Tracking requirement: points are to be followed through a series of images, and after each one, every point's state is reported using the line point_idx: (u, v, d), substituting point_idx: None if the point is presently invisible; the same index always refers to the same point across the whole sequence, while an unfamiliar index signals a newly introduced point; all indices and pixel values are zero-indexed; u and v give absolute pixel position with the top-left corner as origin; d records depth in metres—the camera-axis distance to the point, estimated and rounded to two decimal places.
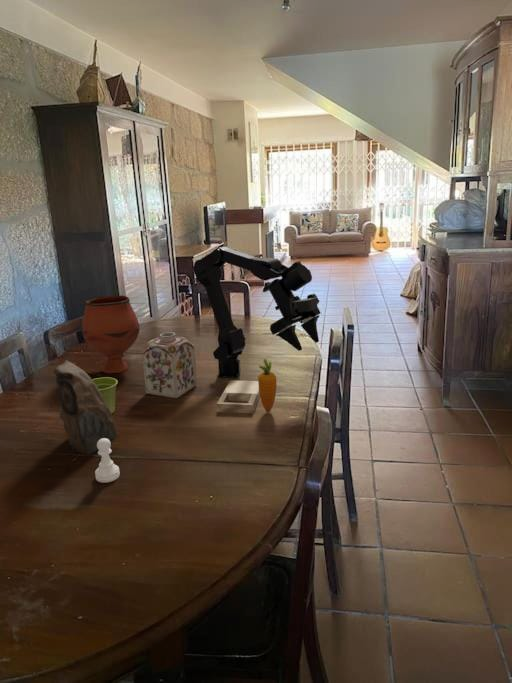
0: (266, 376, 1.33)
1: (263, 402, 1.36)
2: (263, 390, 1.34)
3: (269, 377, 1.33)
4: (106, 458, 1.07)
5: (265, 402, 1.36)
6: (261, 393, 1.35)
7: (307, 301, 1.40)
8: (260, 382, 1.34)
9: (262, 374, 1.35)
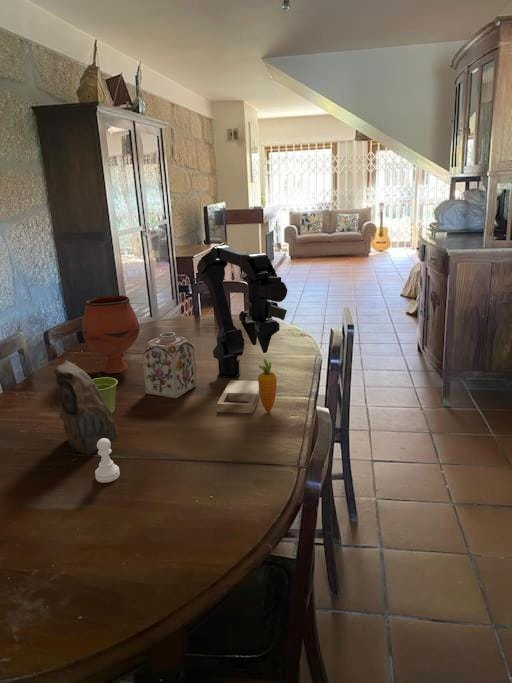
0: (266, 376, 1.33)
1: (263, 402, 1.36)
2: (263, 390, 1.34)
3: (269, 377, 1.33)
4: (106, 458, 1.07)
5: (265, 402, 1.36)
6: (261, 393, 1.35)
7: (286, 311, 1.49)
8: (260, 382, 1.34)
9: (262, 374, 1.35)
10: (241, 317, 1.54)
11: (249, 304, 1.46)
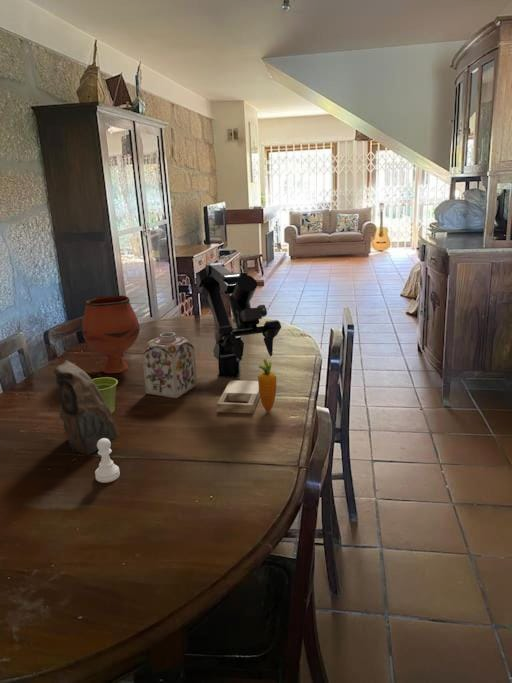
0: (266, 376, 1.33)
1: (263, 402, 1.36)
2: (263, 390, 1.34)
3: (269, 377, 1.33)
4: (106, 458, 1.07)
5: (265, 402, 1.36)
6: (261, 393, 1.35)
7: (245, 310, 1.39)
8: (260, 382, 1.34)
9: (262, 374, 1.35)
10: None
11: None
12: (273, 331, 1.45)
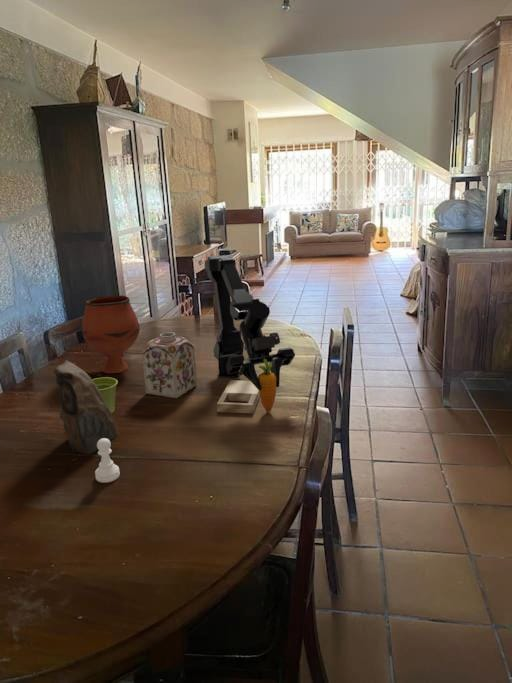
0: (266, 376, 1.33)
1: (263, 402, 1.36)
2: (263, 390, 1.34)
3: (269, 377, 1.33)
4: (106, 458, 1.07)
5: (265, 402, 1.36)
6: (261, 393, 1.35)
7: (257, 339, 1.32)
8: (260, 382, 1.34)
9: (262, 374, 1.35)
10: None
11: None
12: (280, 361, 1.37)
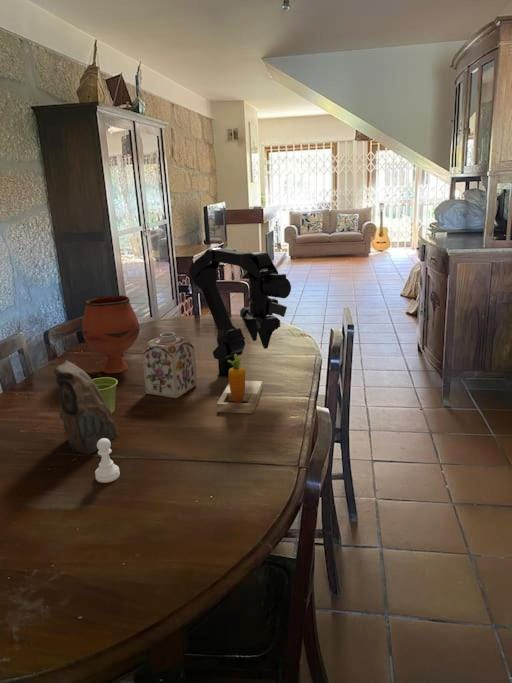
0: (234, 370, 1.38)
1: (232, 395, 1.41)
2: (232, 384, 1.39)
3: (237, 372, 1.38)
4: (106, 458, 1.07)
5: (234, 395, 1.41)
6: (230, 387, 1.40)
7: (286, 308, 1.53)
8: (229, 376, 1.39)
9: (231, 368, 1.40)
10: (242, 314, 1.58)
11: (250, 301, 1.50)
12: None
